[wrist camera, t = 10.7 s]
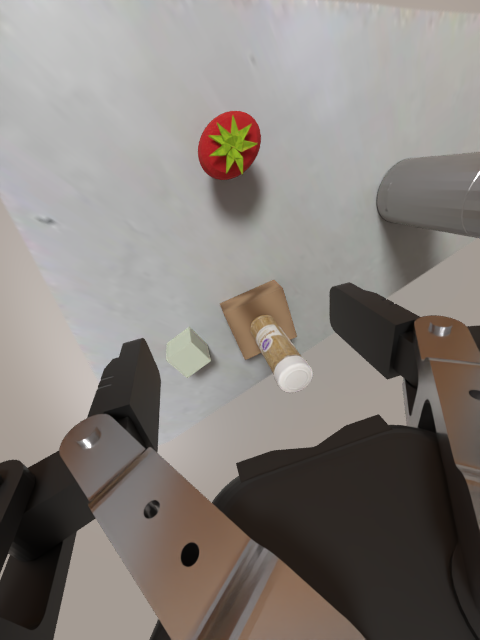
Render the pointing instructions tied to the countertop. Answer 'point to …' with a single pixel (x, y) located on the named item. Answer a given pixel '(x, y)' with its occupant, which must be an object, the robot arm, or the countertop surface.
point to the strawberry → (229, 145)
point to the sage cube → (187, 352)
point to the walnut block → (257, 314)
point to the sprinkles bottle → (281, 355)
